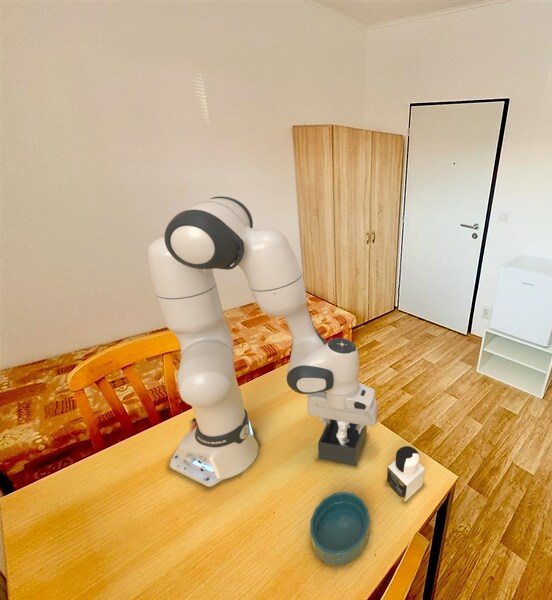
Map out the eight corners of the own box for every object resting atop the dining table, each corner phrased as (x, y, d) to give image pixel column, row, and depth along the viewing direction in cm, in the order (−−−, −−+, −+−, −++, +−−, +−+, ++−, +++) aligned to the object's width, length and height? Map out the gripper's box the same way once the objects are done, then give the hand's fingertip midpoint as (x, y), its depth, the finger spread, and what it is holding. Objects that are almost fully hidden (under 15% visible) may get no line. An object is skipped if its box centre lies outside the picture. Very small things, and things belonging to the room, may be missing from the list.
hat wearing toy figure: (340, 432, 100) (339, 403, 94) (352, 433, 100) (352, 404, 94) (334, 457, 92) (333, 427, 86) (348, 458, 92) (347, 428, 86)
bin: (318, 458, 92) (317, 442, 89) (332, 428, 101) (331, 413, 99) (356, 466, 90) (356, 450, 87) (366, 434, 100) (366, 419, 97)
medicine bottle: (386, 483, 86) (388, 453, 81) (404, 467, 91) (407, 437, 86) (404, 502, 82) (408, 472, 76) (423, 485, 86) (427, 455, 81)
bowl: (301, 558, 69) (300, 546, 67) (324, 499, 81) (323, 487, 79) (360, 572, 68) (360, 560, 66) (374, 510, 80) (375, 498, 77)
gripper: (301, 394, 85) (304, 430, 91) (375, 407, 83) (373, 444, 89) (311, 379, 91) (313, 414, 97) (380, 390, 88) (378, 426, 94)
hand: (342, 428), depth 93 cm, fingers open, 8 cm apart
